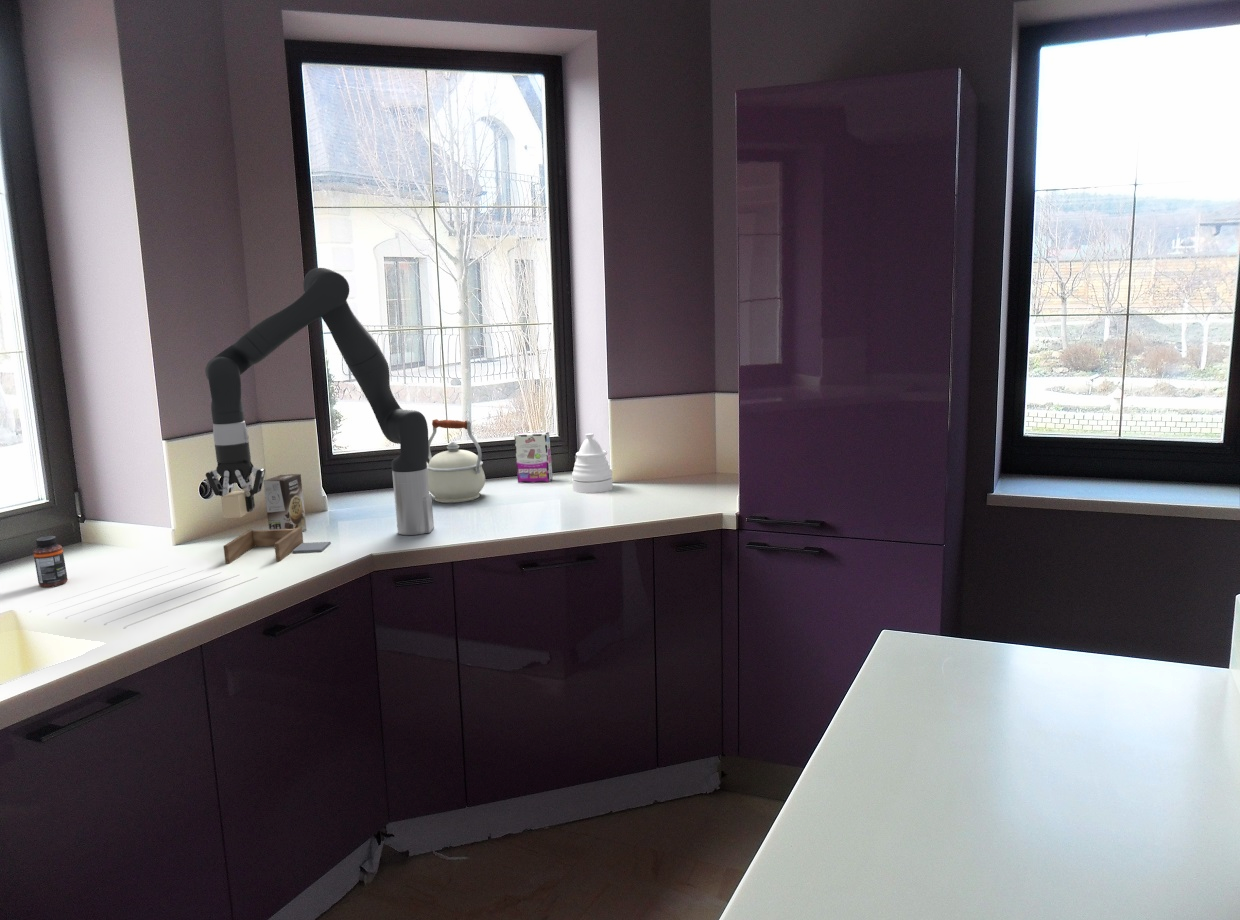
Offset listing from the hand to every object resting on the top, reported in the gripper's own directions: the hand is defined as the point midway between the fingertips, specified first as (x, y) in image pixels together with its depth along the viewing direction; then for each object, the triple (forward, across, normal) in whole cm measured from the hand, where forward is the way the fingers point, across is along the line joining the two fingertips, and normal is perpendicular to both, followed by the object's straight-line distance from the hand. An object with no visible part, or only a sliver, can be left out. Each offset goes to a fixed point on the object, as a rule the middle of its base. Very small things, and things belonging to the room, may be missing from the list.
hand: (240, 511), depth 224 cm
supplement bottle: (+14, -43, -7) cm, 46 cm away
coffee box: (+14, -1, +32) cm, 35 cm away
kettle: (+15, +38, +70) cm, 81 cm away
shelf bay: (+14, 0, +12) cm, 18 cm away
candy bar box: (+15, +62, +90) cm, 111 cm away
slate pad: (+14, +11, +15) cm, 23 cm away
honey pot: (+15, +82, +73) cm, 111 cm away
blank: (0, 0, -2) cm, 2 cm away
